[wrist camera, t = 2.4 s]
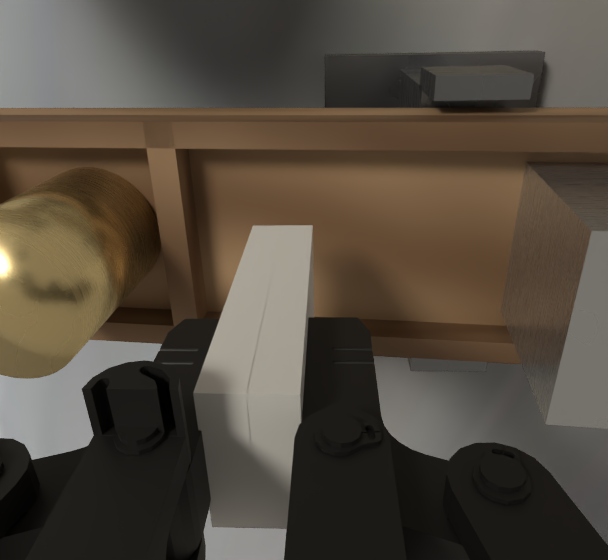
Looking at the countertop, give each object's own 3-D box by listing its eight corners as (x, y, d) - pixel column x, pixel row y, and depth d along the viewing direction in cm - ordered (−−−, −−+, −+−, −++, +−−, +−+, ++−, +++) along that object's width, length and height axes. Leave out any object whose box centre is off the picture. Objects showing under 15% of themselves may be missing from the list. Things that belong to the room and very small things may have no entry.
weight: (24, 165, 16) (-111, 225, 12) (151, 167, 16) (59, 230, 11) (55, 283, 18) (-52, 373, 13) (169, 288, 17) (97, 383, 13)
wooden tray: (-24, 108, 17) (-95, 125, 14) (1100, 107, 13) (1269, 130, 10) (32, 302, 20) (-18, 343, 17) (948, 346, 16) (1051, 407, 14)
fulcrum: (324, 54, 20) (323, 77, 13) (537, 50, 20) (651, 71, 13) (325, 266, 24) (324, 370, 17) (502, 266, 24) (574, 372, 17)
